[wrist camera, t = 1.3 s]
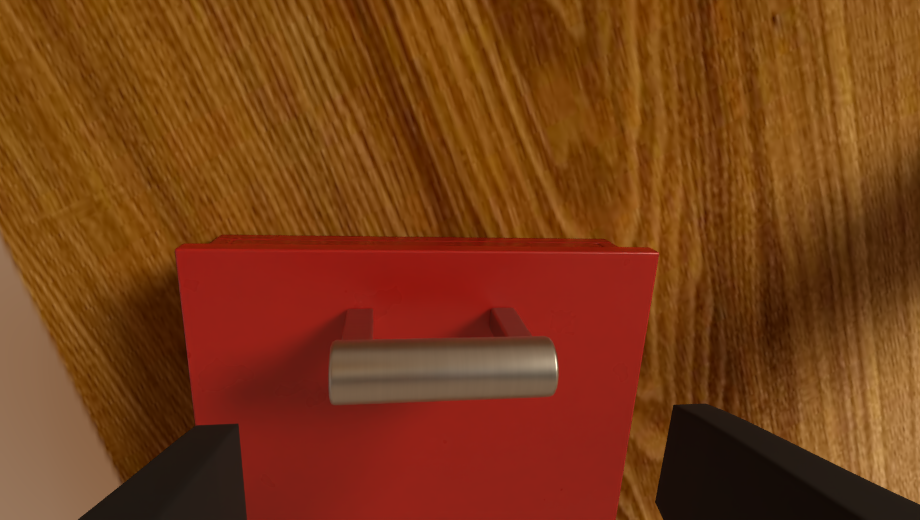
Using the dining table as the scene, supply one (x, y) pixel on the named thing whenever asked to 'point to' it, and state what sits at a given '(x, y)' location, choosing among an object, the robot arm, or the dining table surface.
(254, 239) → the red box base
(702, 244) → the dining table surface
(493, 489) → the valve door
